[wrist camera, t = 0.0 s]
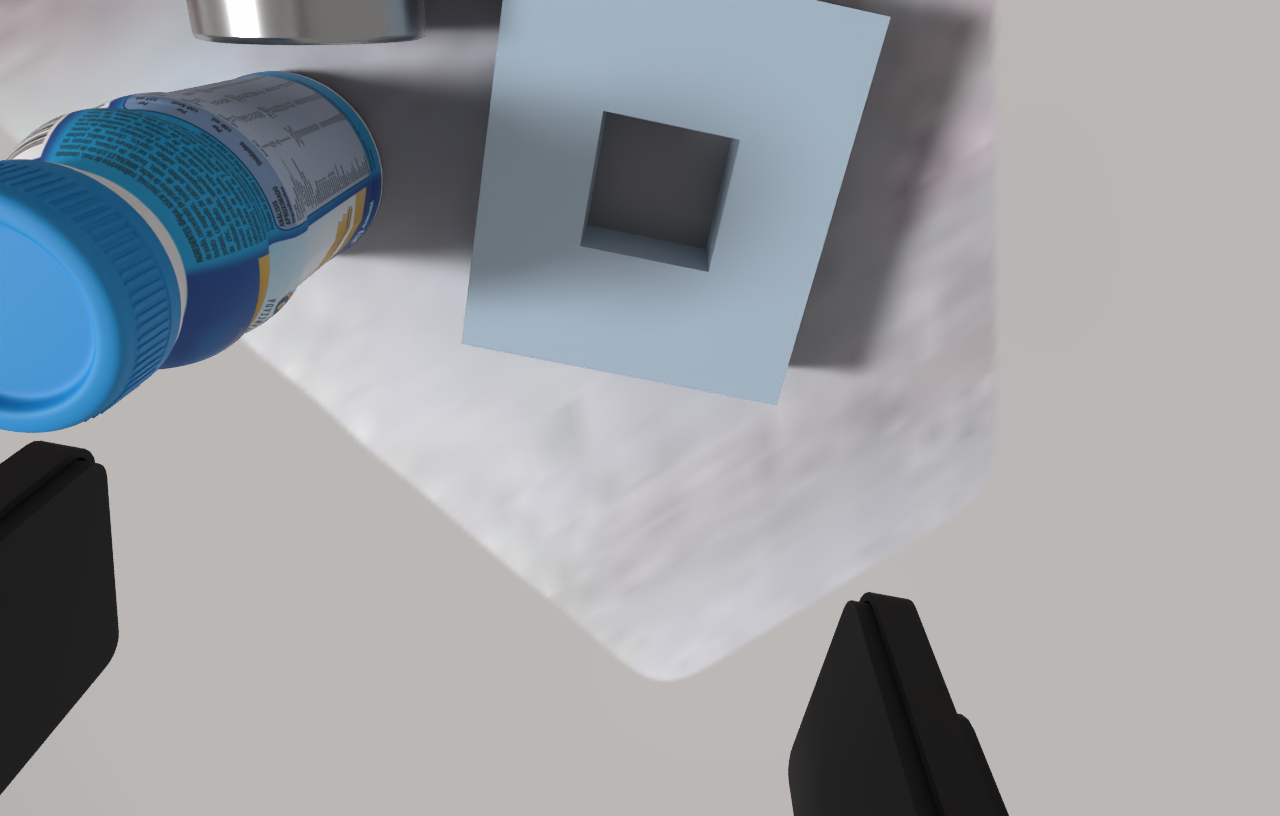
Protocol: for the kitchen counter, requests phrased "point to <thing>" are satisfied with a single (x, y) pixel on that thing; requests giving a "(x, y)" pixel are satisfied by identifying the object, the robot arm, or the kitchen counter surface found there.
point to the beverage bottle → (167, 233)
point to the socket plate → (664, 182)
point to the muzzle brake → (307, 21)
